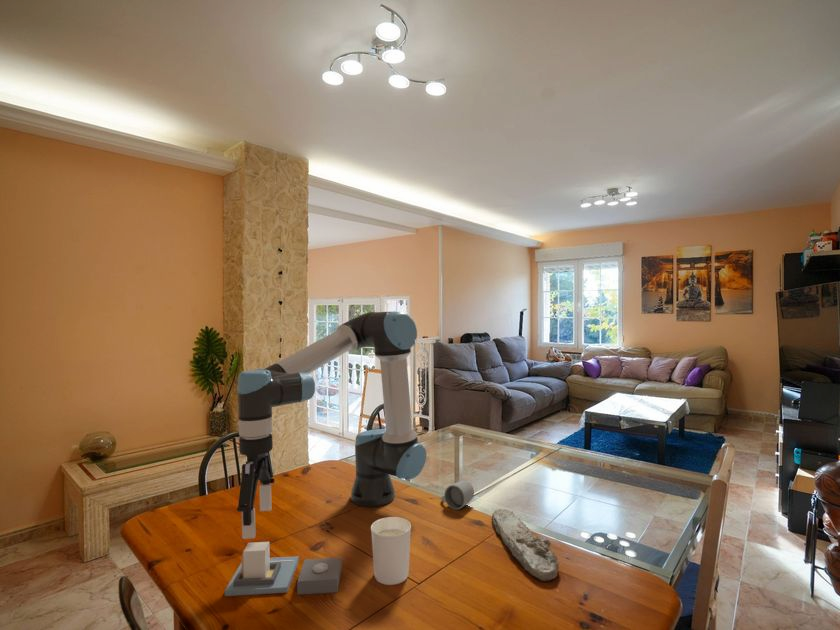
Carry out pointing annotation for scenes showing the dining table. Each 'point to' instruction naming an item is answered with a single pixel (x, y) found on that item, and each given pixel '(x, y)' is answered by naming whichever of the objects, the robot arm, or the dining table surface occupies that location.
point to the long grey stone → (526, 545)
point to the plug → (256, 560)
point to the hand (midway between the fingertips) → (257, 523)
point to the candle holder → (391, 549)
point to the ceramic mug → (458, 494)
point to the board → (265, 579)
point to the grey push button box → (319, 576)
